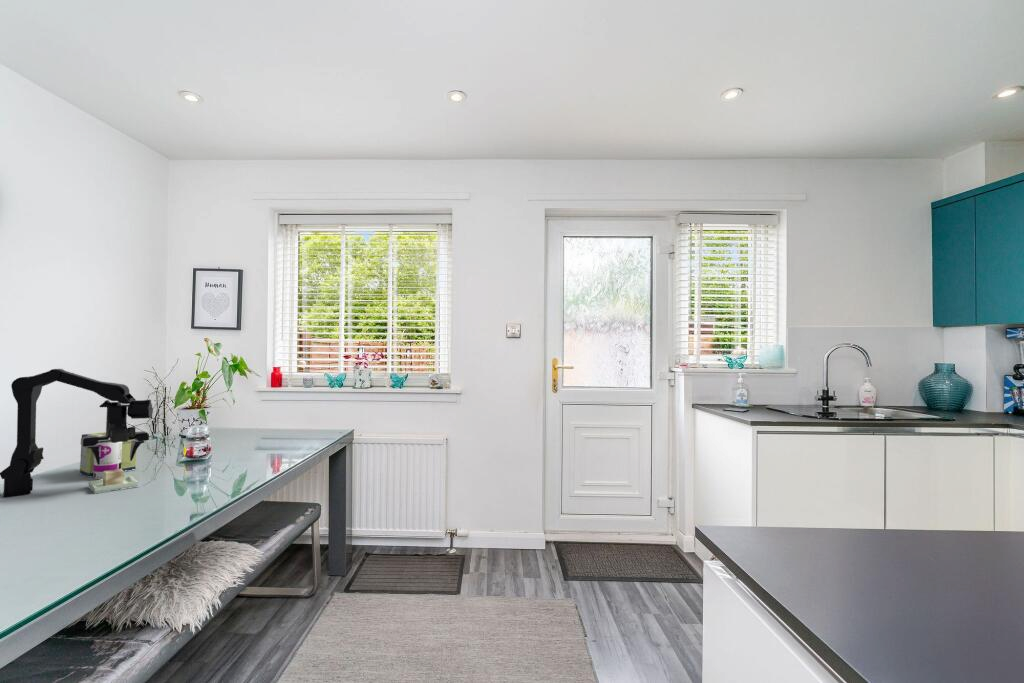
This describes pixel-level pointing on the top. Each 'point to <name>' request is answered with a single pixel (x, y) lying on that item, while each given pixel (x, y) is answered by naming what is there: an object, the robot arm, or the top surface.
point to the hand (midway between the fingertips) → (115, 462)
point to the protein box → (88, 457)
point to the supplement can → (107, 458)
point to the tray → (99, 487)
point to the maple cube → (113, 477)
